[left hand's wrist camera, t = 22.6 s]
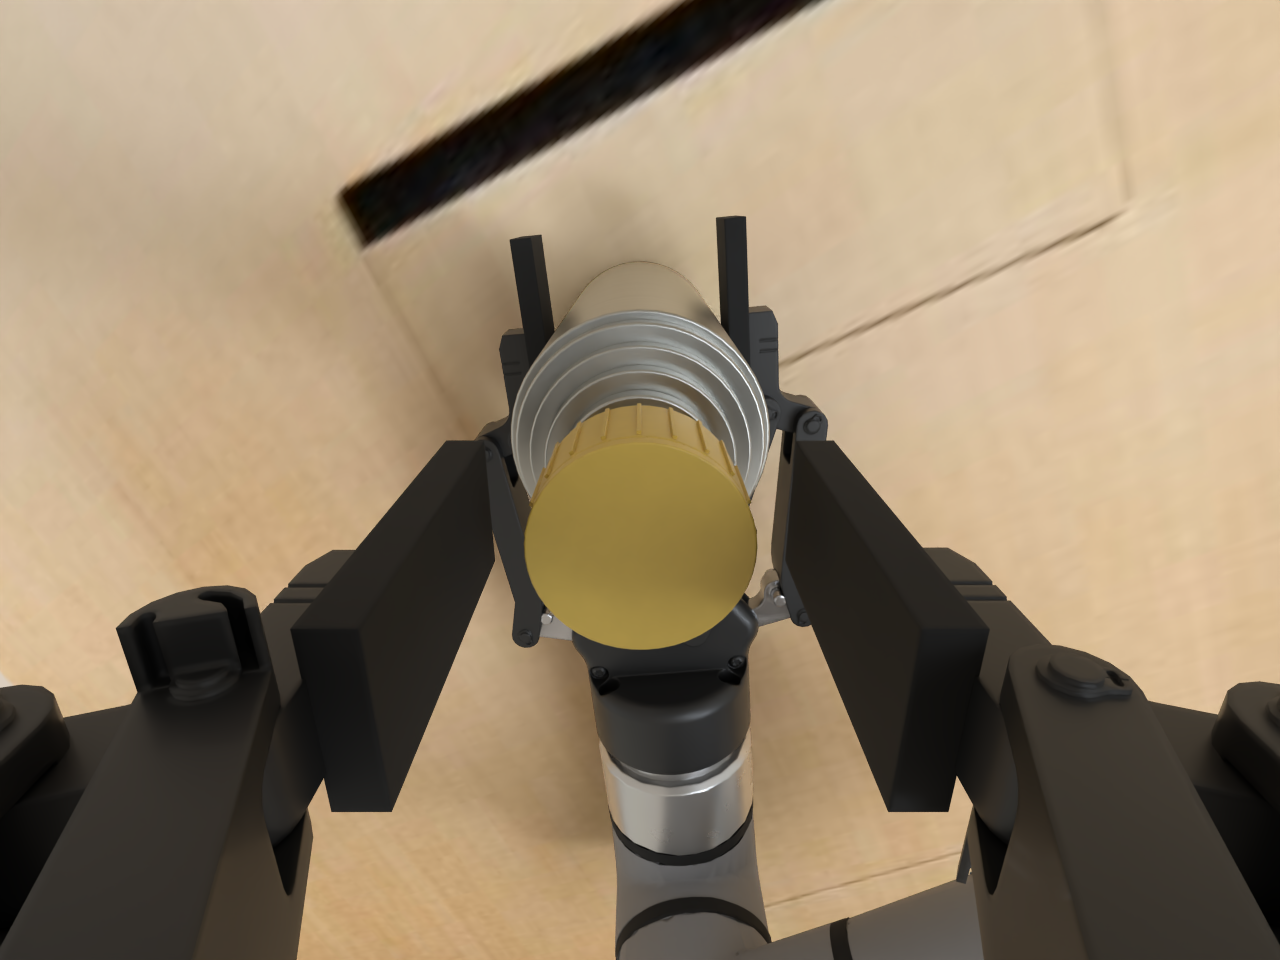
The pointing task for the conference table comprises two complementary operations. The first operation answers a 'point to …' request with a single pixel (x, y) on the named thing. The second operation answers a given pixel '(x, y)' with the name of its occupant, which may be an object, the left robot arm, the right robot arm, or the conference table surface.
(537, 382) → the bottle
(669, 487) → the cap
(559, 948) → the conference table surface
